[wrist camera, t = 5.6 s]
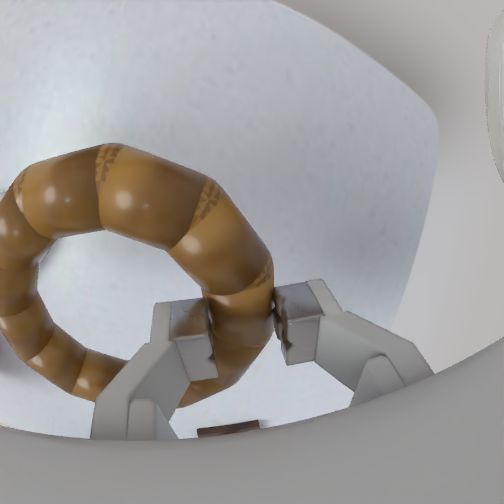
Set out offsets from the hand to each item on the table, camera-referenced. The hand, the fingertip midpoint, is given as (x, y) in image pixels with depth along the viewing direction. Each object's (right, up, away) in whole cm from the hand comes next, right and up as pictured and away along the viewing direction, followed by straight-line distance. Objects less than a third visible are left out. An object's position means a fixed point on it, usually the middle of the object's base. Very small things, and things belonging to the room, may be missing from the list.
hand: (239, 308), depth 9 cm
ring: (-4, 0, 0) cm, 4 cm away
